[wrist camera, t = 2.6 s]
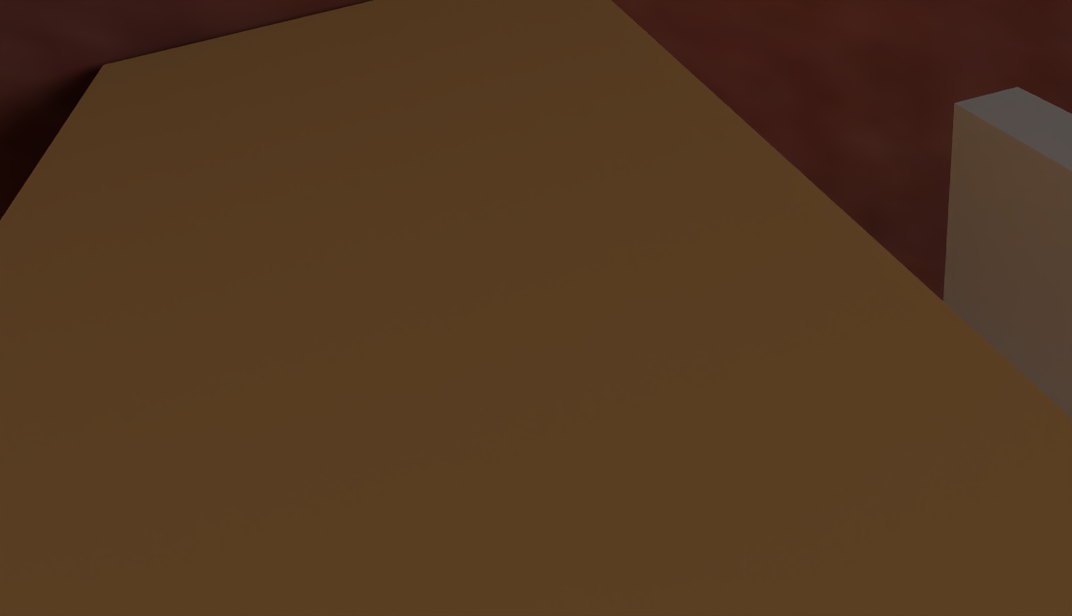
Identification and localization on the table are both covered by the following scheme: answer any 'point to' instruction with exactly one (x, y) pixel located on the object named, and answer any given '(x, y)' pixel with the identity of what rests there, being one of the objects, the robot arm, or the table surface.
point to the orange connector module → (486, 349)
